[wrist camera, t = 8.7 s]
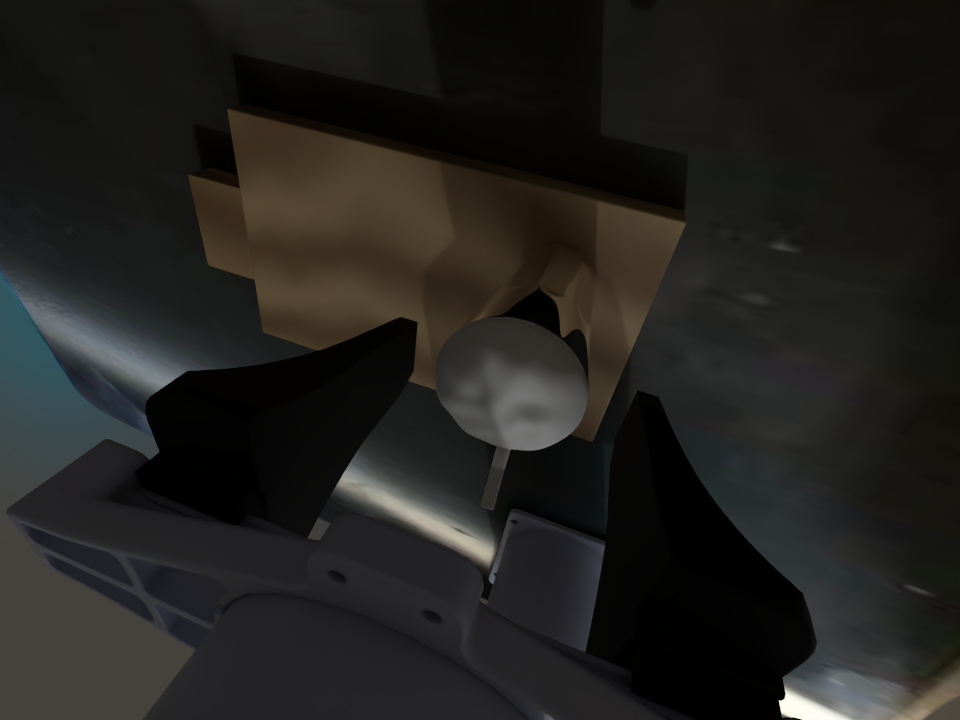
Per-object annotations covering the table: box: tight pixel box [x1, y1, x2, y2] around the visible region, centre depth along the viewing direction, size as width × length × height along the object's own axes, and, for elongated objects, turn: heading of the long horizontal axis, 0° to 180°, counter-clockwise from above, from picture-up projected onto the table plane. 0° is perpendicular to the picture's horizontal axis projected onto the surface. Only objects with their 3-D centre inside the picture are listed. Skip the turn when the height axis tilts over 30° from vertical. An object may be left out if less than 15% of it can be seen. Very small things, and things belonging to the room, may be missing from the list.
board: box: [188, 105, 686, 442], centre depth 23 cm, size 12×23×2 cm, turn 81°
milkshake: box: [436, 242, 596, 510], centre depth 16 cm, size 5×5×10 cm
